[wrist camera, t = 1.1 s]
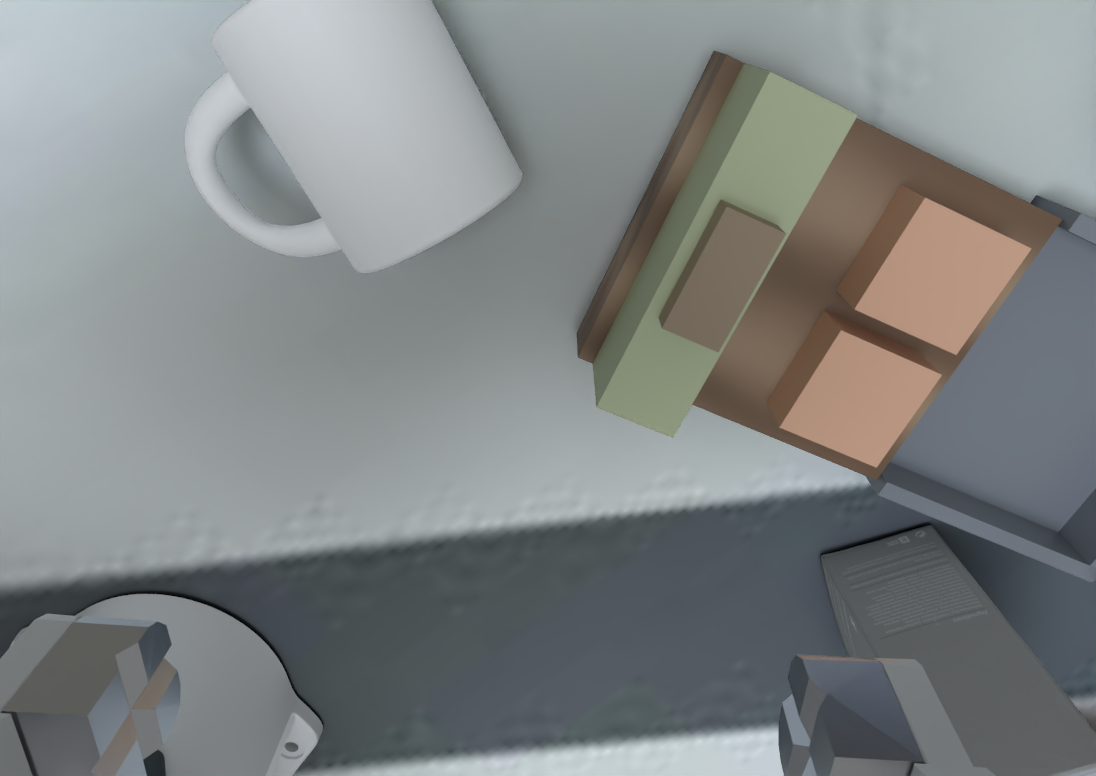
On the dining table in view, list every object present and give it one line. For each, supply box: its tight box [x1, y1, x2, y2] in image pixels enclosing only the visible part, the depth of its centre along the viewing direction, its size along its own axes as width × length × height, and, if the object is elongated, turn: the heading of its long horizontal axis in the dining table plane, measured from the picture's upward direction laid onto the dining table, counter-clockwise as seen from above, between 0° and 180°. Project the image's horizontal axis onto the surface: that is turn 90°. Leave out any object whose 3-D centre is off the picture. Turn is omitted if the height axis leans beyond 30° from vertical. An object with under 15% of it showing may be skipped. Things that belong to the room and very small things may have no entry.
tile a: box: [767, 310, 942, 468], centre depth 36 cm, size 5×5×2 cm
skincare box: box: [821, 525, 1096, 776], centre depth 39 cm, size 8×7×16 cm
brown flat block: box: [577, 51, 1063, 480], centre depth 37 cm, size 14×16×3 cm
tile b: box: [836, 185, 1031, 355], centre depth 34 cm, size 5×5×2 cm
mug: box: [185, 0, 523, 273], centre depth 33 cm, size 12×10×8 cm
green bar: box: [593, 63, 858, 438], centre depth 32 cm, size 14×4×6 cm, turn 156°
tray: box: [866, 196, 1096, 582], centre depth 39 cm, size 15×13×4 cm
